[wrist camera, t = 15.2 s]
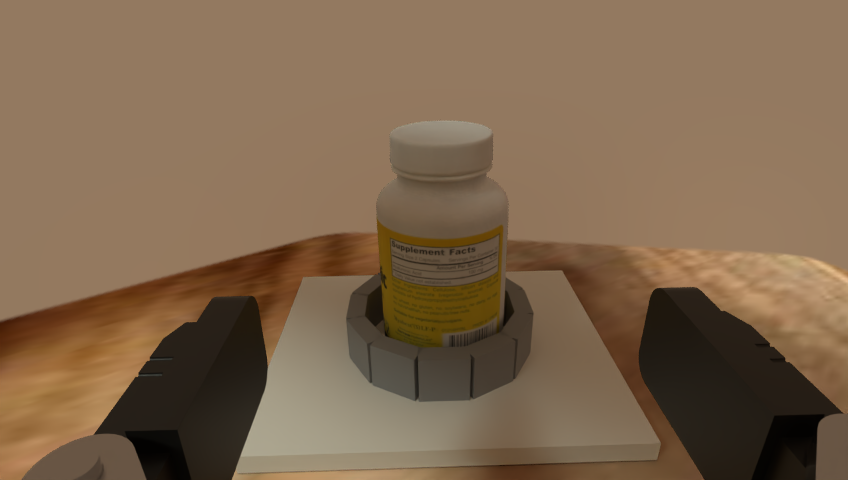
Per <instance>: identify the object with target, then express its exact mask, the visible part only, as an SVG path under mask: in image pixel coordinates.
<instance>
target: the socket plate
mask: <svg viewBox="0 0 848 480" xmlns="http://www.w3.org/2000/svg"><path fill="white" fill-rule="evenodd" d="M660 446H661V442H660V441H659V439H658V437H657V435H656V434H655V432H654V430H653V428H652V427H651V425H650V423H649V421H648V420H647V418H646V416H645V414H644V413H643V411H642V409H641V407H640V406H639V404H638V402H637V400H636V399H635V397H634V395H633V393H632V392H631V390H630V388H629V386H628V385H627V383H626V381H625V379H624V378H623V376H622V374H621V372H620V371H619V369H618V367H617V366H616V364H615V362H614V360H613V359H612V357H611V355H610V353H609V352H608V350H607V348H606V346H605V345H604V343H603V341H602V339H601V338H600V336H599V334H598V332H597V331H596V329H595V327H594V325H593V324H592V322H591V320H590V318H589V317H588V315H587V313H586V311H585V310H584V308H583V306H582V304H581V303H580V301H579V299H578V297H577V296H576V294H575V292H574V290H573V289H572V287H571V285H570V283H569V282H568V280H567V278H566V277H565V275H564V273H563V271H562V270H555V271H516V272H506V279H505V300H504V323H503V329H502V331H501V332H500V333H498V334H495V335H493V336H490V337H488V338H485V339H483V340H480V341H478V342H475V343H473V344H470V345H468V346H460V347H425V348H421V347H417V346H414V345H411V344H408V343H405V342H402V341H399V340H395V339H392V338H389V337H386V336H385V330H384V318H383V300H382V286H381V273H378V275H377V274H375V275H363V276H324V277H303V279H302V282H301V285H300V287H299V290H298V292H297V295H296V297H295V300H294V303H293V305H292V308H291V310H290V313H289V315H288V318H287V321H286V323H285V326H284V328H283V331H282V333H281V336H280V339H279V341H278V344H277V346H276V349H275V351H274V354H273V357H272V359H271V362H270V364H269V367H268V371H267V382H266V387H265V391H264V394H263V396H262V399H261V402H260V404H259V407H258V410H257V413H256V415H255V418H254V421H253V423H252V426H251V429H250V431H249V434H248V437H247V440H246V442H245V445H244V448H243V450H242V453H241V456H240V459H239V461H238V464H237V467H236V470H237V473H266V472H297V471H328V470H359V469H390V468H421V467H452V466H483V465H514V464H545V463H576V462H607V461H638V460H657V458H658V454H659V450H660Z"/></svg>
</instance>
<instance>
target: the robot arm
mask: <svg viewBox="0 0 848 480" xmlns="http://www.w3.org/2000/svg"><path fill="white" fill-rule="evenodd" d="M639 366H640V371H641V375H642V378H643V380H644V382H645V384H646V385H647V387H648V389H649V390H650V392H651V393H652V395H653V397H654V398H655V400H656V402H657V403H658V405H659V406H660V408H661V410H662V411H663V413H664V415H665V416H666V418H667V419H668V421H669V423H670V424H671V426H672V428H673V429H674V431H675V432H676V434H677V436H678V437H679V439H680V440H681V442H682V444H683V445H684V447H685V449H686V450H687V452H688V453H689V455H690V457H691V458H692V460H693V462H694V463H695V465H696V466H697V468H698V470H699V471H700V473H701V474H702V476H703V478H704V479H705V480H848V414H843V413H842V412H841V411H840V410H839V409H838V408H837V407H836V406H835V405H834V404H833V403H832V402H831V401H830V400H829V399H828V398H827V397H826V396H825V395H823V394H822V393H821V392H820V391H819V390H818V389H817V388H816V387H815V386H814V385H813V384H812V383H811V382H810V381H809V380H808V379H807V378H806V377H805V376H803V375H802V374H801V373H800V372H799V371H798V370H797V369H796V368H795V367H794V366H793V365H792V364H791V363H790V362H786V361H785V357H783V356H782V355H781V354H780V353H779V352H778V351H777V350H776V349H775V348H774V347H770V343H769V342H768V341H767V340H766V339H765V338H764V337H762V336H761V335H760V334H759V333H758V332H757V331H756V330H755V329H754V328H753V327H752V326H751V325H749V324H747V323H745V322H744V321H742V320H740V319H738V318H736V317H735V316H733V315H731V314H729V313H728V312H726V311H721V310H720V309H719V308H718V307H717V306H716V305H715V304H714V303H713V302H712V301H711V300H710V299H709V298H708V297H707V296H706V295H705V294H704V293H703V292H702V291H701V290H699V289H698V288H695V287H682V288H657V289H655V290H654V291H653V292H652V294H651V297H650V301H649V306H648V310H647V315H646V320H645V325H644V330H643V335H642V340H641V345H640V350H639ZM267 371H268V365H267V356H266V350H265V344H264V338H263V332H262V327H261V321H260V315H259V309H258V304H257V301H256V299H255V298H254V297H253V296H233V297H214V298H213V299H212V300H211V301H210V302H209V304H208V305H207V307H206V308H205V310H204V312H203V313H202V315H201V316H200V318H199V319H198V321H197V322H186V323H184V324H183V325H182V326H180V327H179V328H177V329H176V330H175V331H173V332H172V333H171V334H169V335H168V336H166V337H165V338H164V339H163V340H162V341H161V343H160V344H159V345H158V347H157V348H156V350H155V351H154V352H153V354H152V355H151V356H150V361H147V362H146V363H145V365H144V366H143V368H142V369H141V370H140V372H139V376H138V377H135V379H134V380H133V381H132V383H131V384H130V385H129V387H128V388H127V390H126V391H125V392H124V394H123V395H122V396H121V398H120V399H119V401H118V402H117V403H116V405H115V406H114V407H113V409H112V410H111V412H110V413H109V414H108V416H107V417H106V418H105V420H104V421H103V423H102V424H101V425H100V427H99V428H98V430H97V431H96V432H95V434H94V435H91V436H87V437H83V438H80V439H77V440H74V441H72V442H69V443H67V444H65V445H63V446H61V447H59V448H57V449H56V450H54V451H52V452H51V453H49V454H48V455H46V456H45V457H43V458H42V459H41V460H40V461H38V462H37V463H36V464H35V465H34V466H33V467H32V468H31V469H30V470H29V471H28V472H27V473H26V474H25V476H24V477H23V478H22V480H232V477H233V475H234V472H235V469H236V467H237V464H238V461H239V459H240V456H241V453H242V450H243V448H244V445H245V442H246V440H247V437H248V434H249V431H250V429H251V426H252V423H253V421H254V418H255V415H256V413H257V410H258V407H259V404H260V402H261V399H262V396H263V394H264V391H265V387H266V382H267Z"/></svg>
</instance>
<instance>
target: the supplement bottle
mask: <svg viewBox="0 0 848 480" xmlns="http://www.w3.org/2000/svg"><path fill="white" fill-rule="evenodd" d="M492 160H493V132H492V130H491V129H490V128H488V127H486V126H484V125H480V124H475V123H470V122H462V121H427V122H418V123H412V124H407V125H404V126H400V127H397V128H395V129H394V130H392V131H391V133H390V162H391V164H392V165H391V168H392V170H393V172H394V173H396V174H397V176H398V177H397V179H394V180H393V181H391V182H390V183H388V184H387V185H386V186H385V187H384V188H383V190H382V191H381V192H380V194H379V197H378V199H377V205H376V208H377V209H376V210H377V230H378V243H379V257H380V273H381V286H382V300H383V318H384V330H385V336H386V337H389V338H392V339H395V340H399V341H402V342H405V343H408V344H411V345H414V346H417V347H421V348H425V347H460V346H468V345H470V344H473V343H475V342H478V341H480V340H483V339H485V338H488V337H490V336H493V335H495V334H498V333H500V332H501V331H502V329H503V323H504V300H505V279H506V258H507V234H508V198H507V195H506V193H505V191H504V190H503V188H502V187H501V186H500V185H499V184H498V183H497V182H495V181H494V180H492V179H491V178H489V177H486V173H487V172H488V171H490V169H491V168H492Z"/></svg>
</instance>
